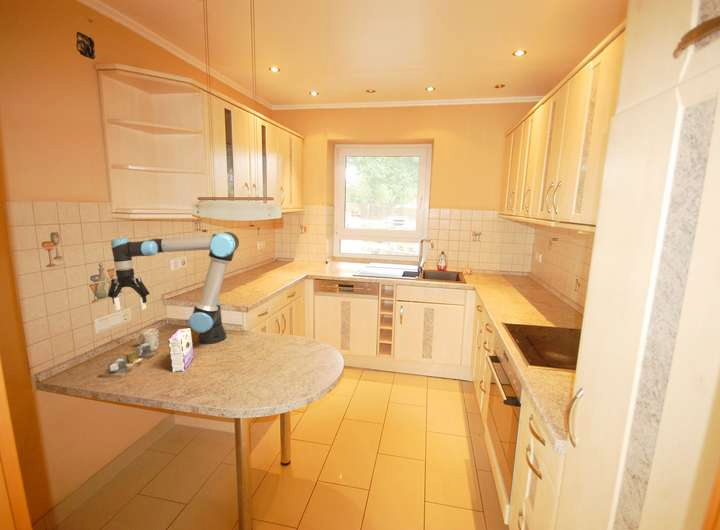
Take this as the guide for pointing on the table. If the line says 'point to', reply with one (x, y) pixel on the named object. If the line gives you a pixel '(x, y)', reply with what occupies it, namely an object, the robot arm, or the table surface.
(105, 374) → the shaft bed
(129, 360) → the block
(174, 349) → the candy box
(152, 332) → the mug
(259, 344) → the table surface
